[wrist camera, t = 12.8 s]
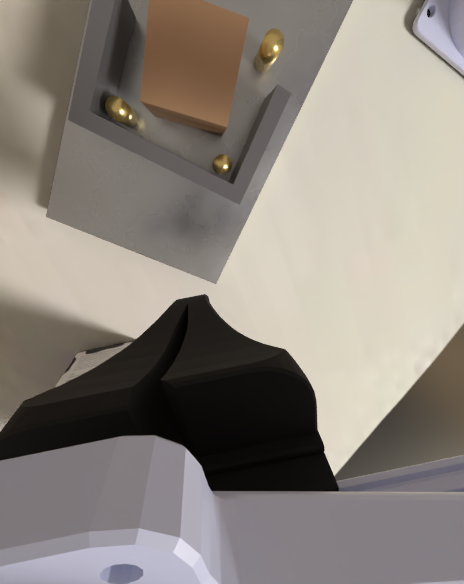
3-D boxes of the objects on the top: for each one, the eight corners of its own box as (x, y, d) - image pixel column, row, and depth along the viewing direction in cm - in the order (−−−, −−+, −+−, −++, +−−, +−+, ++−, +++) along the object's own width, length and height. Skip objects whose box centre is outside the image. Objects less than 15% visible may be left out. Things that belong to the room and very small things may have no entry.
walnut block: (164, 28, 14) (150, -20, 10) (237, 55, 15) (249, 18, 11) (154, 116, 15) (139, 100, 12) (221, 136, 16) (227, 126, 13)
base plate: (142, -191, 12) (117, -333, 8) (354, -13, 15) (397, -65, 12) (55, 213, 18) (22, 223, 15) (215, 278, 21) (217, 298, 18)
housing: (120, 7, 13) (99, -34, 11) (276, 106, 16) (291, 93, 13) (91, 128, 15) (67, 119, 13) (234, 199, 18) (239, 205, 15)
